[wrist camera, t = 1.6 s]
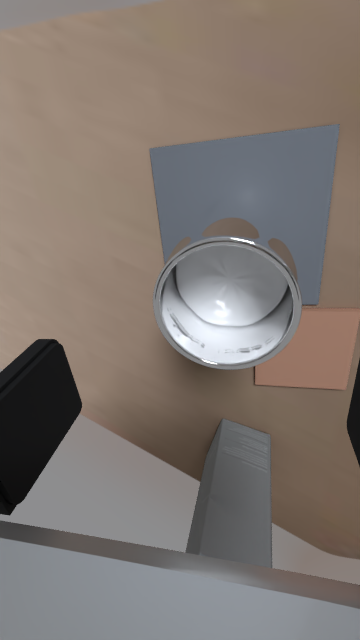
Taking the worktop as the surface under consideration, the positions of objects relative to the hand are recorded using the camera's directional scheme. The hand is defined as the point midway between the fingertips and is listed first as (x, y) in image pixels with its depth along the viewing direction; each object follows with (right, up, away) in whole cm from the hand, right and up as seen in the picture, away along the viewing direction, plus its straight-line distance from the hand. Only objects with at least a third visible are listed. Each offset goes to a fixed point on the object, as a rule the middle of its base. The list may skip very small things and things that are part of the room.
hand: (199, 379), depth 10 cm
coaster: (+12, -1, +21) cm, 24 cm away
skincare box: (+6, -14, +30) cm, 34 cm away
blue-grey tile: (+4, +10, +17) cm, 20 cm away
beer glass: (+4, +10, +17) cm, 20 cm away
